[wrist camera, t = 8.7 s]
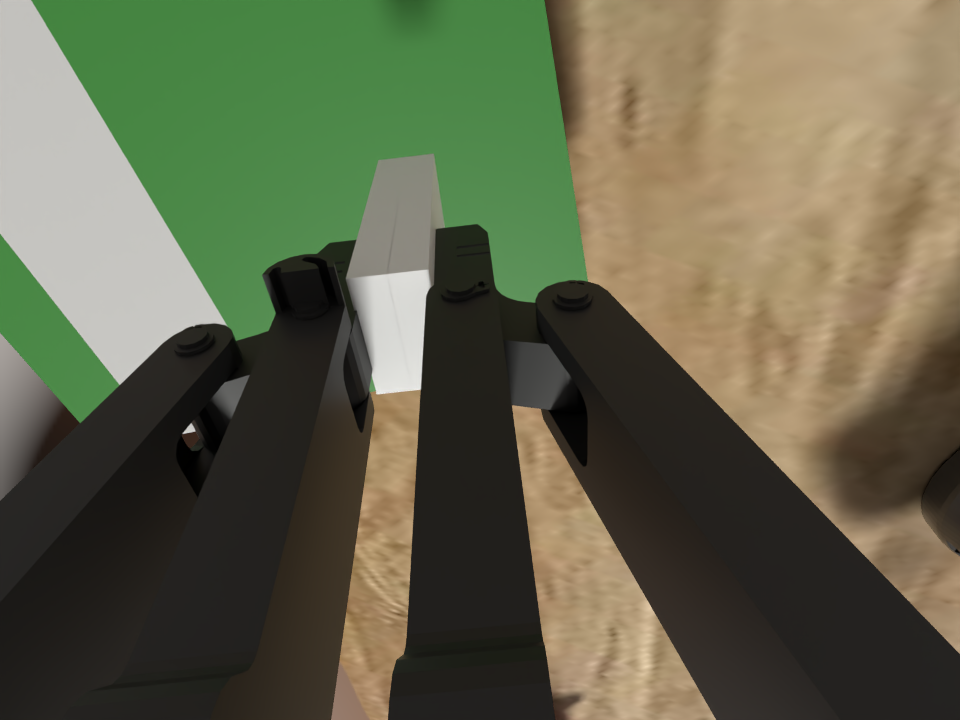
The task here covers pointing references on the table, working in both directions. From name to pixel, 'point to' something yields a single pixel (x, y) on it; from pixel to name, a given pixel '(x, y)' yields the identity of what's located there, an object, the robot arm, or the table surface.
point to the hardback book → (252, 158)
